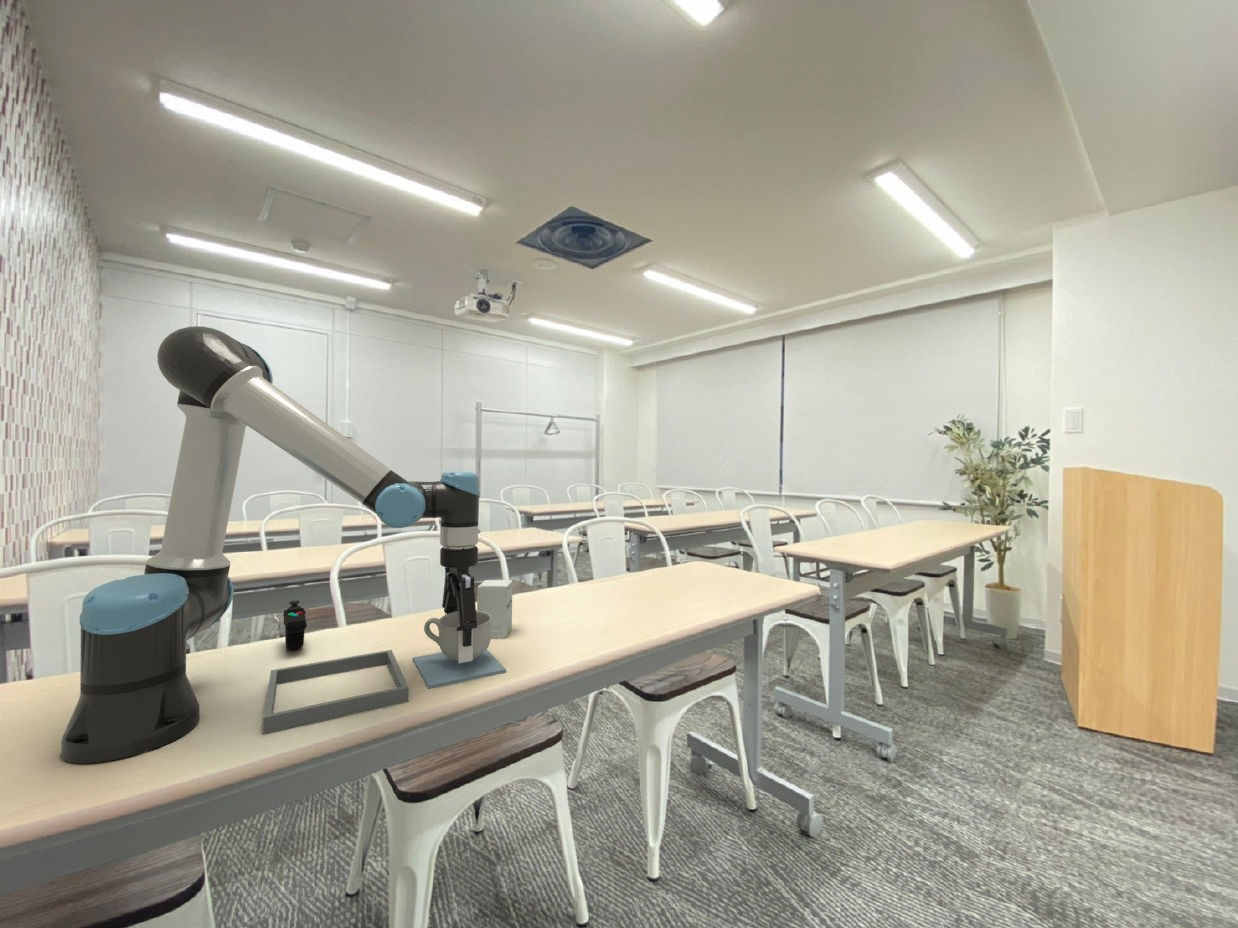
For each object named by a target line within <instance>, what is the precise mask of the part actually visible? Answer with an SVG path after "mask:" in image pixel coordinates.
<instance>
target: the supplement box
mask: <svg viewBox="0 0 1238 928" xmlns="http://www.w3.org/2000/svg"><path fill="white" fill-rule="evenodd" d="M476 595H477V596H476V597H477V598H476V599H477V600H476V601H477V602H476V604H477V605H476V610H479V611H484V612H487V613H489V614H490V615H491V616H492V620H491V639H506V638H507V636H508V635H509V633H510V631H511V630H512V629H513V626H512V625H513V624H512V623H513V622H512V621H513V579H485V580H484V581H482V582H481V583H480V584H479V585H477V594H476Z"/></svg>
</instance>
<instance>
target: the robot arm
mask: <svg viewBox="0 0 1238 928" xmlns="http://www.w3.org/2000/svg"><path fill="white" fill-rule="evenodd" d="M156 359H157V365H158V368H159V370H160V372H161V374H162V377H164V378H165V380H166V381H167V382H168V383H169V384H171V386H173V387H174V388H176V389H177V390H178V391H179V393H178V399H177V403H176V406H177V408H178V409H179V410H181V412H182V413H183V414H184V415H185V421H184V422H185V423H184V428H183V433H182V438H181V442H180V449H179V453H178V459H177V463H176V470H175V474H174V480H173V484H172V490H171V495H170V496H171V497H170V500H169V506H168V512H167V516H166V522H165V526H164V533H163V537H162V542H161V548H160V550H159V552H158V553H156V554H154V555H152V556H150V557H149V558H148V559H147V560H146V562H145V569H144V572H143V574H139V575H133V576H128V577H127V576H126V577H125V578H124V579H123V578H121V579H115V580H112V581H109V582H106V583H103V584H100V585H99V586H96V587H95V588H93V589H92V590H90V591H89V592H88V593H87V594H86V595H85V597H84V598H83V600H82V608H81V612H80V615H79V626H80V668H79V669H80V674H79V675H80V691H79V693H80V694H79V697H78V701H77V703H76V704H75V708H74V710H73V712H72V715H71V716H70V719H69V721H68V723H67V725H66V728H65V730H64V733H63V735H62V738H61V745H60V746H61V747H60V749H61V750H60V752H61V753H60V755H61V756H60V757H61V758H62V760H64V761H66V762H69V763H74V764H95V763H102V762H109V761H115V760H120V759H124V758H128V757H132V756H135V755H139V754H143V753H145V752H148V751H153V750H155V749H157V748H159V747H161V746H164V745H167V744H169V743H172V742H174V741H175V740H177V739H180V738H181V737H183V736H184V735H186V734H188V733H190V731H191V730H193V729H194V728H195V727H196V726H197V725H198V724H199V722H200V714H201V713H200V703H199V700H198V698H197V696H196V693H195V691H194V690H193V687H192V684H191V683H190V679H189V678H188V676H187V642H188V641H189V640H190V639H192V638H193V637H195V636H196V635H198V634H200V633H202V632H204V631H205V630H206V629H208V628H210V627H211V626H213V625H214V624H215V623H217V622H218V621H219V619H221V618H222V617H223V616H224V614H225V613H226V612H227V611H228V609H229V608H230V606H231V604H232V602H233V598H234V593H235V592H234V589H235V588H234V585H233V581H232V579H231V578H230V577H229V572H230V567H231V560H230V559H229V558H227V556H226V555H225V554H224V553H223V550H224V546H225V545H224V544H225V539H226V535H227V530H228V523H229V520H230V519H229V518H230V514H231V508H232V503H233V497H234V492H235V486H236V482H237V476H238V470H239V465H240V460H241V459H240V458H241V455H242V449H243V444H244V438H245V432H246V428H247V427H249V428H250V429H252V430H253V431H255V432H256V433H257V434H259V435H260V436H262V437H263V438H265V439H266V440H268V441H270V442H271V443H272V444H273V445H275V446H277V447H278V448H279V449H281V450H283V451H284V452H286V453H287V454H288V455H290V456H292V458H295V459H296V460H297V461H298V462H300V463H302V464H303V465H305V466H306V467H308V468H310V469H311V470H312V471H314V472H315V473H317V474H318V475H320V476H321V477H323V478H324V479H325V480H326V481H329V482H330V483H331V484H333V485H334V486H336V487H337V488H339V489H340V490H342V491H343V492H344V493H346V494H347V495H349V496H350V497H352V498H353V499H355V500H356V501H358V502H359V503H361V504H362V505H363V506H365V507H366V508H367V509H368V510H370V511H371V512H372V513H375V514H376V515H377V517H378V519H379V521H381V522H382V523H383V524H385V525H386V526H388V527H391V528H394V529H402V528H409V527H410V526H412V525H413V526H414V525H415V523H417V522H419V521H420V520H421V519H436V518H438V519H440V527H439V528H440V530H439V532H440V534H439V536H440V539H439V544H440V546H441V548H440V550H439V551H440V552H439V554H440V555H439V563H440V564H439V565H440V566H441V567H443V568H444V572H445V573H444V574H445V575H444V576H445V577H444V586H443V595H442V604H441V607H442V609H443V612H444V616H445V615H447V614H449V613H452V612H457V611H458V614H459V622H460V627H457V631H458V663H463V662H468V661H473V629H474V628H477V619H476V610H477V605H476V596H475V593H476V592H475V579H476V578H475V576H473V575H472V576H471V573H470V570H469V568H470V567H473V566H476V565H477V564H478V563H479V547H478V546H476V545H477V544H478V543H479V534H481V529H480V528H479V512H480V510H479V509H480V484H479V482H480V481H479V476H478V475H477V474H476V473H475V472H470V471H469V472H468V471H467V472H464V471H462V472H461V471H454V472H453V471H447V472H446V471H445V472H443V473H441V478H440V480H438V481H414V480H413V481H409V480H406V479H405V478H403V476H401V475H400V474H398V473H396V472H395V471H393V470H392V469H391V468H390V467H388V466H387V465H385V464H383V463H382V462H381V461H379V460H378V459H377V458H375V457H374V456H372V454H370V453H368V452H367V451H365V450H364V449H363V448H361V447H360V446H359V445H357V444H356V443H354V442H353V441H352V440H350V439H349V438H348V437H347V436H345V435H343V434H342V433H341V432H339V431H337V430H336V429H335V428H333V427H332V426H331V425H329V424H328V423H327V422H325V421H324V420H322V419H321V418H320V417H318V416H317V415H315V414H314V413H312V412H311V411H310V410H308V409H307V408H306V407H305V406H303V405H302V404H300V403H299V402H298V401H296V400H295V399H293V398H292V397H290V396H289V395H288V394H286V393H285V392H284V391H283V390H281V389H280V388H279V387H277V386H276V385H274V384H273V383H274V382H273V381H274V380H273V372H272V370H271V367H270V365H269V363H268V362H267V361H266V360H265V358H263V356H261V354H260V353H259V352H258V351H256V350H255V349H253V348H252V347H251V346H249V345H247V344H245V343H242V342H240V341H238V340H237V339H235V338H233V337H231V336H230V335H228V334H227V333H226V332H223V331H221V330H218V329H215V328H213V327H209V326H198V325H197V326H186V327H184V328H183V327H182V328H179V329H177V330H174V331H172V332H171V333H169V334H168V335H167V336H166V337H164V339H163V340H162V341H161V343H160V345H159V347H158V350H157V357H156ZM467 622H469V623H467Z"/></svg>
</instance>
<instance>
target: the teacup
mask: <svg viewBox="0 0 1238 928" xmlns="http://www.w3.org/2000/svg"><path fill="white" fill-rule="evenodd" d="M476 619H477V628H474V629H473V659H474V658H477V657H478V656H480V655H481V654H482V653H483V652H484V651H485V650H486V649H487V650H488V648H489V647H490V644H491V639H492V638H491V620H492V616H491V615H490V614H489V613H487V612H484V611H479V610H477V609H476ZM467 623H469V622H467ZM431 624H435V625H436V627H437V630H438V635H436V634H435V633H434V632H432V630H431V628H430V625H431ZM457 627H460V622H459V614H458V611H457V612H452V613H449V614H447V615H445V614H444V615H442V616H441V617H439V618H437V617H431V618H429V619H428V620H427V621H426V622H425V624H424V626H423V628H424V629H423V630H424V633H425V635H426V636H427V638H429V639H430V640H431V641H433V642H435V643H436V644H437V646H438V647H439V648H440V649H439V650H440V651H441V652H443V654H445V655H446V656H448V657H449V658H450V659H453V660H457V661H458V631H457Z"/></svg>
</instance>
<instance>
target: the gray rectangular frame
mask: <svg viewBox="0 0 1238 928" xmlns="http://www.w3.org/2000/svg"><path fill="white" fill-rule="evenodd" d="M384 665H387V668H388V671H389V673H390V675H391V679H392V681H393V683H394V686H395V687H392V688H388V689H383V690H379V691H374V692H370V693H364V694H359V695H354V696H350V697H344V698H340V699H335V700H330V701H326V702H321V703H317V704H315V703H314V704H312V705H307V706H301V707H295V708H291V709H287V710H281V711H276V712H274V709H275V702H276V694H277V686H278V685H280V684H285V683H291V682H297V681H301V680H308V679H314V678H318V677H324V676H330V675H335V674H341V673H344V672H345V673H346V672H351V671H357V670H361V669H369V668H373V667H378V666H384ZM269 673H270V674H269V681H268V686H267V693H266V696H265V697H266V699H265V704H264V710H263V716H262V735H265V734H270V733H275V732H278V731H283V730H288V729H292V728H296V727H297V728H298V727H300V726H305V725H310V724H311V725H312V724H313V723H314V724H315V723H319V722H324V721H327V720H333V719H336V718H341V717H346V716H350V715H355V714H360V713H365V712H369V711H373V710H378V709H382V708H386V707H390V706H395V705H400V704H404V703H408V702H409V701H410V697H409V692H410V687H409V685H408V683H407V681H406V678H405V676H404V674H403V672H402V669H401V667H400V665H399V663H398V661H397V659H396V656H395V654H394V652H393V650H392V649H388V650H383V651H382V650H381V651H377V652H371V653H363V654H359V655H353V656H347V657H342V658H341V657H340V658H335V659H329V660H323V661H317V662H311V663H306V664H305V663H304V664H300V665H295V666H294V665H293V666H289V667H282V668H275V669H271V670H270V672H269Z"/></svg>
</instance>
